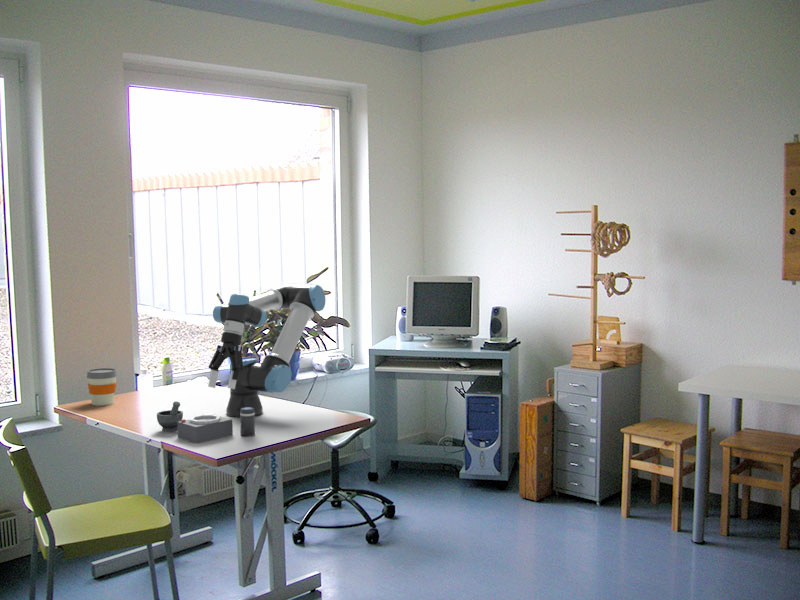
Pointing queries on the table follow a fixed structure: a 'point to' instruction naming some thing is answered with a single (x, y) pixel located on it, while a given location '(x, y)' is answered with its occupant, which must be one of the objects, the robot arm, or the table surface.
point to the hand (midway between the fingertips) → (221, 387)
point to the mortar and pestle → (170, 418)
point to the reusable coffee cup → (102, 385)
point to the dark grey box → (204, 428)
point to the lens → (247, 421)
